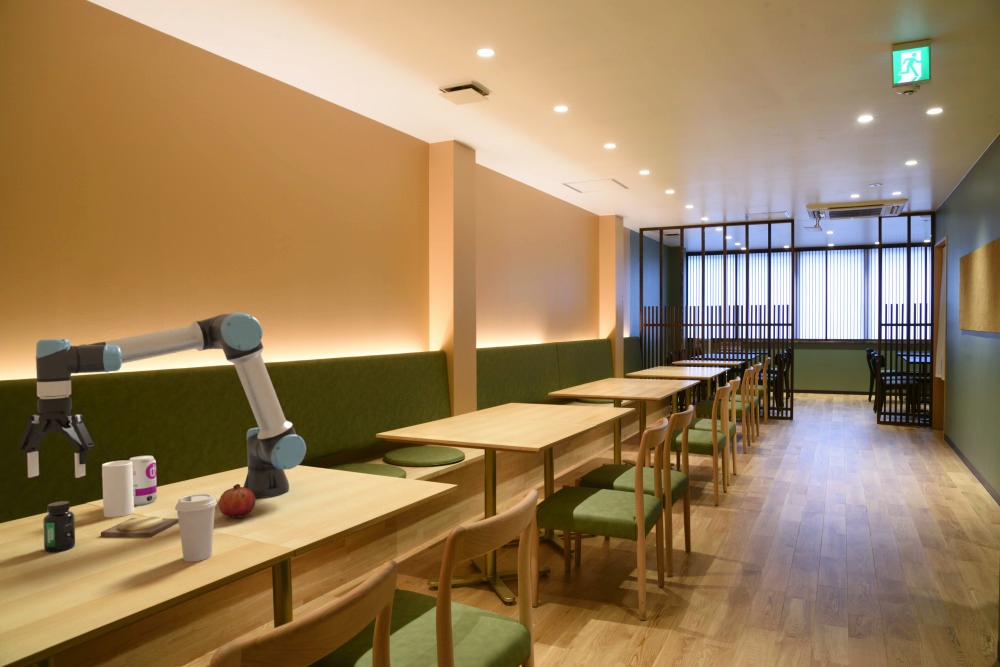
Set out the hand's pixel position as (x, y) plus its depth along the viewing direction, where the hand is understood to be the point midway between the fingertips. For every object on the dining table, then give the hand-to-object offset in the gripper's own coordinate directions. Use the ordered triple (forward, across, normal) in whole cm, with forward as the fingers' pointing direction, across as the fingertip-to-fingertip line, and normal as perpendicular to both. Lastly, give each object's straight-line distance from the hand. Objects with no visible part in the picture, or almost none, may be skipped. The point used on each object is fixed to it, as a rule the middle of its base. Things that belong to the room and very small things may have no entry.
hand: (56, 476), depth 171 cm
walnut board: (+19, -12, -16) cm, 28 cm away
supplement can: (+19, +7, -44) cm, 48 cm away
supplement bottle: (+19, -1, 0) cm, 19 cm away
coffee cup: (+19, -42, +5) cm, 47 cm away
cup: (+19, +6, -31) cm, 37 cm away
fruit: (+19, -35, -28) cm, 49 cm away
